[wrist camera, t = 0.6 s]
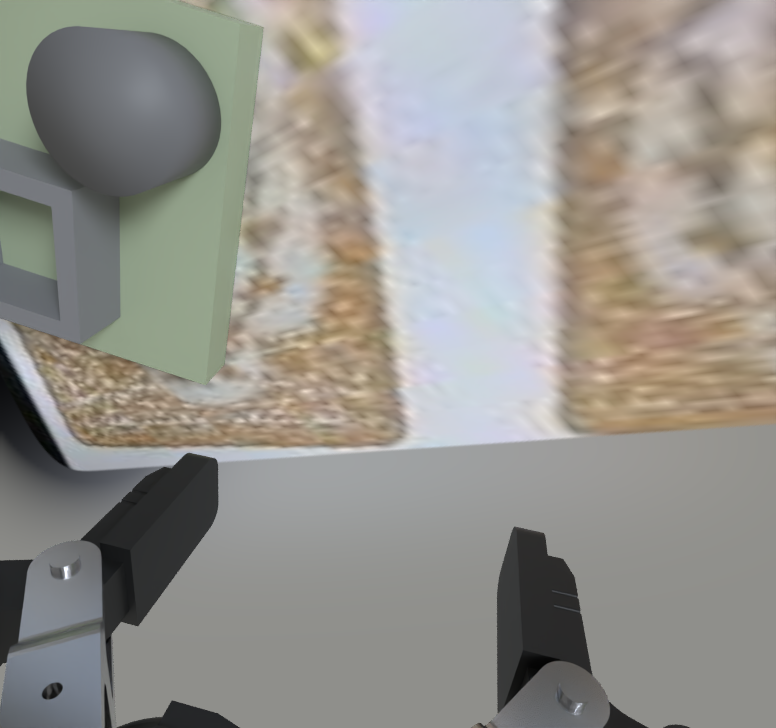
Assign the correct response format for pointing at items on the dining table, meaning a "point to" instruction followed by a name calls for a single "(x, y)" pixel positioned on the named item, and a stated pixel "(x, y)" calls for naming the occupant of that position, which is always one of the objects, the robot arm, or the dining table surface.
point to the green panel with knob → (125, 174)
